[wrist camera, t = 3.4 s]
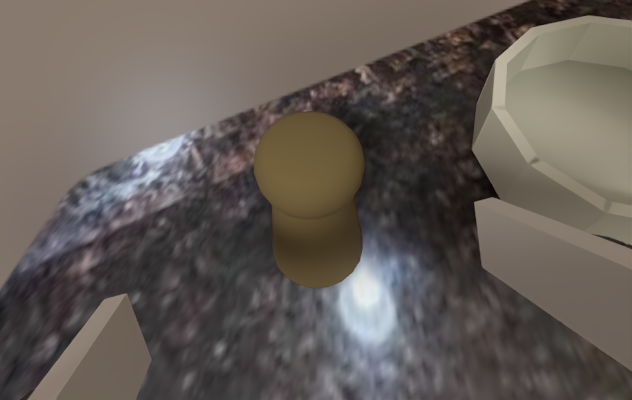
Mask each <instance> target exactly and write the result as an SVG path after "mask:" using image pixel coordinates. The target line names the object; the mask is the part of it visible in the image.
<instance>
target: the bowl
mask: <svg viewBox="0 0 632 400" xmlns="http://www.w3.org/2000/svg"><path fill="white" fill-rule="evenodd" d="M476 105H477V106H476V115H475V125H474V134H473V144H472V151H473V153H474V154H475V156H476V158H477V159H478V161H479V163H480V165H481V166H482V168H483V170H484V172H485V173H486V175H487V177H488V179H489V180H490V182H491V184H492V185H493V187H494V189H495V191H496V192H497V194H498V196H499V198H500V199H501V201H504V202H507V203H509V204H512V205H515V206H517V207H520V208H523V209H525V210H528V211H531V212H534V213H536V214H539V215H542V216H544V217H547V218H550V219H552V220H555V221H558V222H560V223H563V224H566V225H568V226H571V227H574V228H576V229H579V230H582V231H584V232H587V233H590V234H595V235H601V236H606V237H610V238H613V239H616V240H619V241H621V242H624V243H625V244H626V245H627V244H630V245H632V21H629V20H621V19H613V18H605V17H596V16H589V15H587V16H583V17H579V18H574V19H569V20H565V21H560V22H556V23H551V24H546V25H542V26H537V27H533V28H530V29H529V30H528V31H527V32H526V33H525V34H524V35H523V36H521V37H520V38H519V39H518V40H517V41H516V42H515V43H514V44H513V45H511V46H510V47H509V48H508V49H507V50H506V51H505V52H504V53H503V54H501V55H500V56H499V57H498V58H497V59H496V60H495V62H494V64H493V67H492V69H491V71H490V74H489V76H488V78H487V81H486V83H485V85H484V88H483V90H482V92H481V95H480V97H479V100H478V102H477V104H476Z"/></svg>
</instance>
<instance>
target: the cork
mask: <svg viewBox="0 0 632 400" xmlns="http://www.w3.org/2000/svg"><path fill="white" fill-rule="evenodd" d="M364 168H365V162H364V154H363V149H362V146H361V143H360V142H359V140H358V138H357V136H356V135H355V133H354V132H353V131H352V130H351V129H350V128H349V127H348V126H347V125H346V124H344V123H343V122H342V121H341V120H340V119H338V118H336V117H333V116H331V115H329V114H327V113H321V112H315V111H308V112H297V113H294V114H291V115H288V116H285V117H283V118H282V119H280V120H278V121H277V122H275V123H274V124H273V125H272V126H271V127H270V128H269V129H268V130H267V131H266V132H265V134H264V135H263V136H262V137H261V139H260V141H259V143H258V146H257V148H256V151H255V158H254V174H255V177H256V180H257V182H258V185H259V188H260V191H261V193H262V194H263V195H264V196H265V198H266V199H267V200H268V201H269V202H270V203H271V204H272V229H273V255H274V258H275V261H276V264H277V266H278V268H279V269H280V270H281V271H282V273H283V274H284V275H285V276H286V277H287V278H289V279H290V280H292V281H293V282H295V283H297V284H298V285H302V286H306V287H310V288H321V287H329V286H331V285H334V284H337V283H339V282H341V281H343V280H344V279H345V278H346V277H347V276H349V275H350V274H351V273H352V272H353V271H354V269H355V267H356V266H357V264H358V263H359V261H360V257H361V252H362V239H361V232H360V227H359V221H358V216H357V210H356V205H355V199H354V195H355V194H356V192H357V191H358V189H359V188H360V186H361V182H362V178H363V174H364Z"/></svg>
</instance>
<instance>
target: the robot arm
mask: <svg viewBox="0 0 632 400" xmlns="http://www.w3.org/2000/svg"><path fill="white" fill-rule="evenodd" d="M474 205H475V213H476V222H477V230H478V238H479V247H480V255H481V263H482V268H484V269H485V270H487V271H488V272H490V273H491V274H492V275H494V276H495V277H497V278H498V279H500V280H501V281H503V282H504V283H505V284H507V285H508V286H510V287H511V288H513V289H514V290H516V291H517V292H518V293H520V294H521V295H523V296H524V297H526V298H527V299H528V300H530V301H531V302H533V303H534V304H536V305H537V306H539V307H540V308H541V309H543V310H544V311H546V312H547V313H549V314H550V315H552V316H553V317H554V318H556V319H557V320H559V321H560V322H562V323H563V324H564V325H566V326H567V327H569V328H570V329H572V330H573V331H575V332H576V333H577V334H579V335H580V336H582V337H583V338H585V339H586V340H588V341H589V342H590V343H592V344H593V345H595V346H596V347H598V348H599V349H600V350H602V351H603V352H605V353H606V354H608V355H609V356H611V357H612V358H613V359H615V360H616V361H618V362H619V363H621V364H622V365H624V366H625V367H626V368H628V369H629V370H631V371H632V245H630V244H627V245H626V244H625V243H624V242H621V241H619V240H616V239H613V238H610V237H606V236H601V235H595V234H590V233H587V232H584V231H582V230H579V229H576V228H574V227H571V226H568V225H566V224H563V223H560V222H558V221H555V220H552V219H550V218H547V217H544V216H542V215H539V214H536V213H534V212H531V211H528V210H525V209H523V208H520V207H517V206H515V205H512V204H509V203H507V202H504V201H501V200H499V199H496V198H493V197H492V198H488V199H484V200H480V201H476V202H474ZM150 363H151V357H150V354H149V352H148V349H147V346H146V344H145V341H144V338H143V336H142V333H141V330H140V327H139V325H138V322H137V319H136V317H135V314H134V311H133V309H132V306H131V303H130V301H129V298H128V295H127V293H126V294H122V295H119V296H115V297H111V298H107V299H104V301H103V302H102V303H101V304H100V306H99V307H98V308H97V310H96V311H95V312H94V314H93V315H92V316H91V317H90V319H89V320H88V321H87V323H86V324H85V325H84V327H83V328H82V329H81V330H80V332H79V333H78V334H77V336H76V337H75V338H74V340H73V341H72V342H71V344H70V345H69V346H68V347H67V349H66V350H65V351H64V353H63V354H62V355H61V357H60V358H59V359H58V360H57V362H56V363H55V364H54V366H53V367H52V368H51V370H50V371H49V372H48V373H47V375H46V376H45V377H44V379H43V380H42V381H41V383H40V384H39V385H38V386H37V388H36V389H35V390H32V391H30V392H29V393H27V394H26V395H25V396H24V397H23V398H22V399H20V400H136V398H137V395H138V393H139V390H140V388H141V385H142V383H143V380H144V378H145V375H146V373H147V370H148V368H149V365H150Z"/></svg>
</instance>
